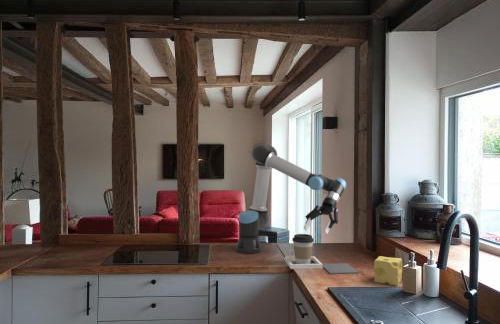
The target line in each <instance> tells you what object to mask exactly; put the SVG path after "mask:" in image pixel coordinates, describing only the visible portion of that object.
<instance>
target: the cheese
mask: <svg viewBox="0 0 500 324" xmlns="http://www.w3.org/2000/svg"><path fill="white" fill-rule="evenodd" d="M373 265H374V267H373V270H374V271H373V275H374V277H373V279H374V282H375V283H379V284H389V285H391V286H396V287H398V286H399V284H400V282H402V279H403V259H402V258H401V257H400V258H399V257H390V256H389V257H387V256H382V255H379V256H378V257H377V258H376V259H375V260H374V261H373Z"/></svg>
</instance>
